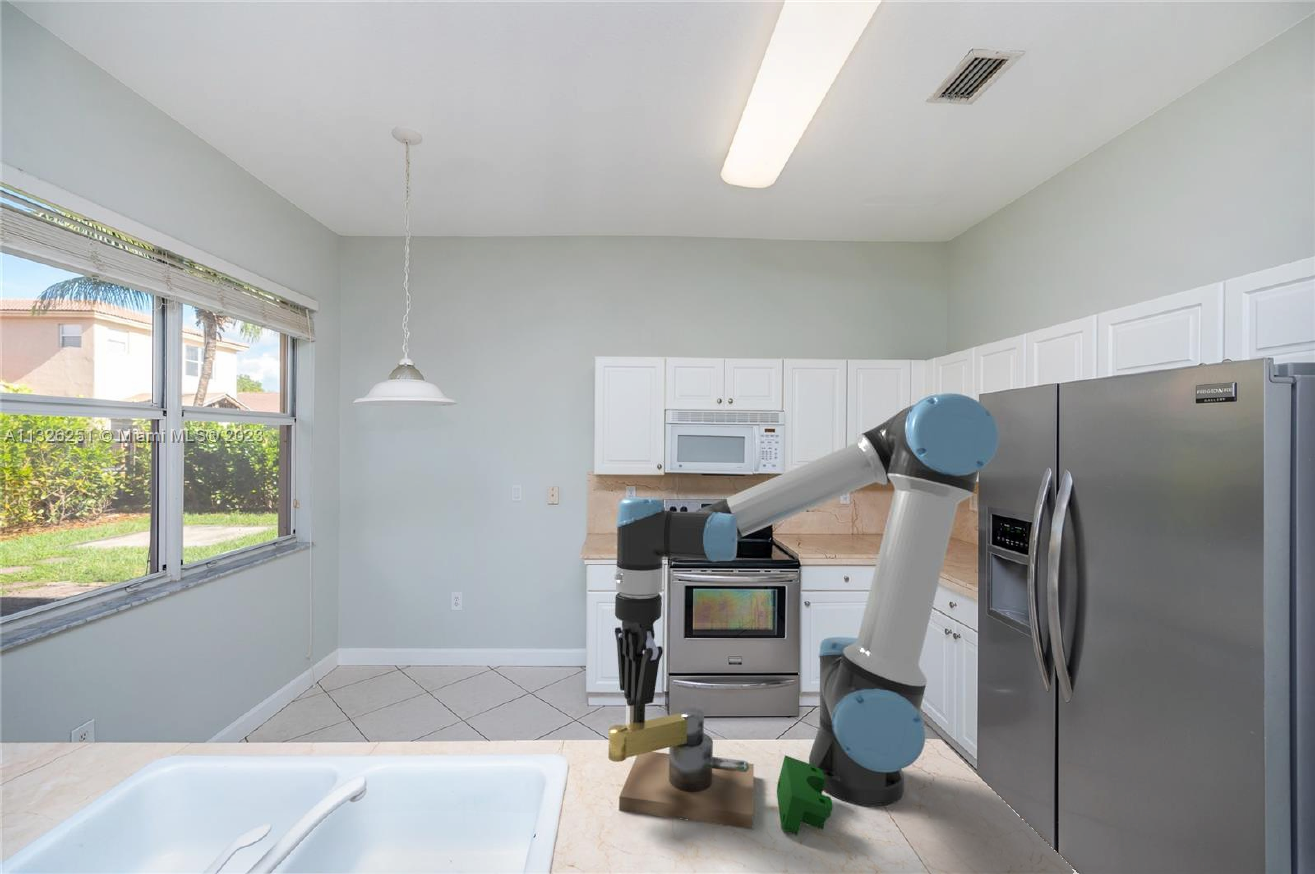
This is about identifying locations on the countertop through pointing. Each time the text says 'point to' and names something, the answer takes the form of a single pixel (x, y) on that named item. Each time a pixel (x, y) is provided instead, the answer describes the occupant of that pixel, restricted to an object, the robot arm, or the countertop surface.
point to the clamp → (802, 796)
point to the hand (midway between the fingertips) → (634, 742)
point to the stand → (688, 794)
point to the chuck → (698, 765)
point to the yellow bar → (656, 734)
